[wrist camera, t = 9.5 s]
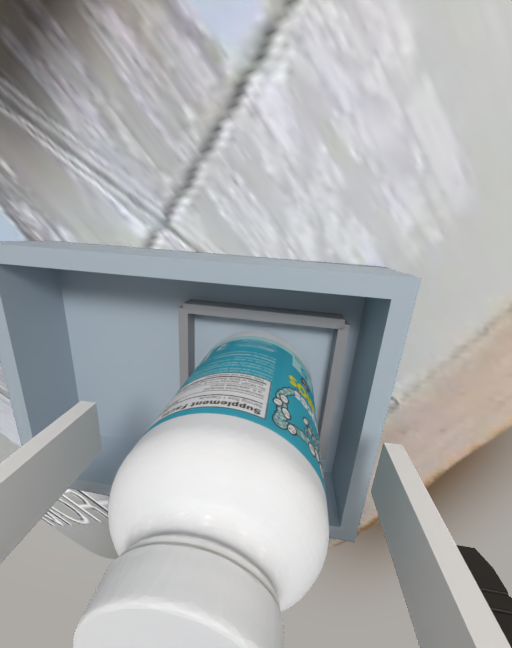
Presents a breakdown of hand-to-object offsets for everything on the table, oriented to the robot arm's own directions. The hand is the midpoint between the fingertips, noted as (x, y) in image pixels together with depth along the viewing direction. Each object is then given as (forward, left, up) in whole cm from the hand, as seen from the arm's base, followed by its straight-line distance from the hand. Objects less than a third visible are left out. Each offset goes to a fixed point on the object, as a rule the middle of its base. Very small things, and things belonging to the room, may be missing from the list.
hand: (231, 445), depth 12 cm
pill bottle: (0, 0, -7) cm, 7 cm away
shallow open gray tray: (-4, 0, -7) cm, 8 cm away
